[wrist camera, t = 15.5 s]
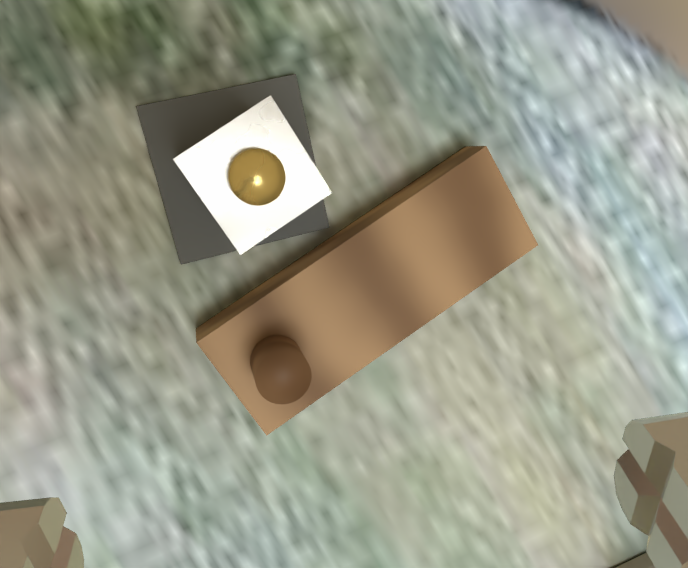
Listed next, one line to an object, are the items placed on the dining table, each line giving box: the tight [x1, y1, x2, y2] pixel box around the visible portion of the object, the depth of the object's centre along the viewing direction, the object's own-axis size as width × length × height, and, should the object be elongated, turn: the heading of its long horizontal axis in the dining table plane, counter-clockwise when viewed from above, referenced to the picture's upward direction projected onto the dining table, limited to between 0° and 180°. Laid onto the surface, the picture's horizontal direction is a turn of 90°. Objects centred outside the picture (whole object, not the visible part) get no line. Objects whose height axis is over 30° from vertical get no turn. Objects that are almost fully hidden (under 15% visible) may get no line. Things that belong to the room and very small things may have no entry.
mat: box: [136, 74, 329, 264], centre depth 37 cm, size 9×9×1 cm
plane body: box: [196, 146, 538, 435], centre depth 37 cm, size 20×7×6 cm, turn 121°
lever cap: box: [173, 95, 332, 255], centre depth 32 cm, size 5×5×10 cm
